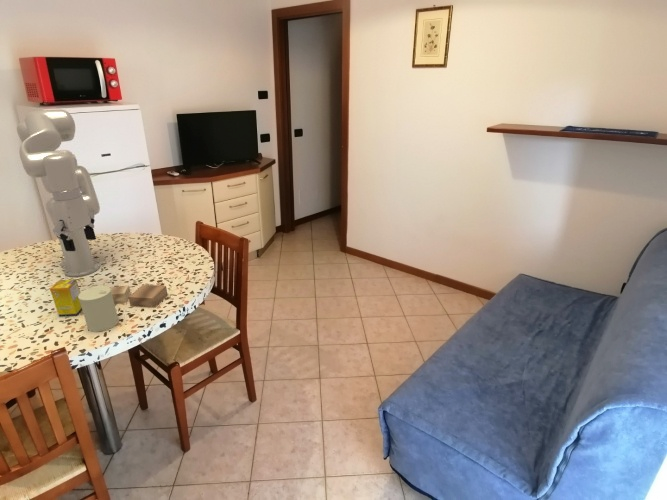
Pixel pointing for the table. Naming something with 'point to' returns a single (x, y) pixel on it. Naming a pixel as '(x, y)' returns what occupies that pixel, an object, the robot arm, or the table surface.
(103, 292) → the can
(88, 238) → the robot arm
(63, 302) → the supplement box
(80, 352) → the table surface
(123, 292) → the oak brick
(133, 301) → the base brick
